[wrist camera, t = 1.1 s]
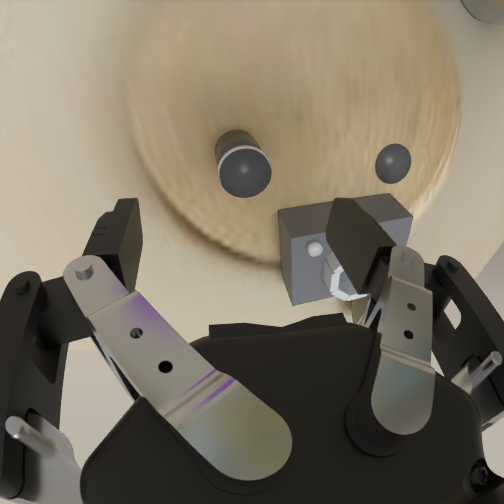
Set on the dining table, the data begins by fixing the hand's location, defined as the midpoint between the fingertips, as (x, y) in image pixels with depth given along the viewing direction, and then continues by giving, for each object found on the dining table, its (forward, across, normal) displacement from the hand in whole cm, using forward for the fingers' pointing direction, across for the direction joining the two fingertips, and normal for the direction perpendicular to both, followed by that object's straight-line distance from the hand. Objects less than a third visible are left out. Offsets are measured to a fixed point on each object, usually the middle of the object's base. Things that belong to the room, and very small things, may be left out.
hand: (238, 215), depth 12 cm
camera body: (+20, -17, +15) cm, 31 cm away
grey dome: (+21, -23, +4) cm, 31 cm away
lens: (+20, -3, +4) cm, 21 cm away
